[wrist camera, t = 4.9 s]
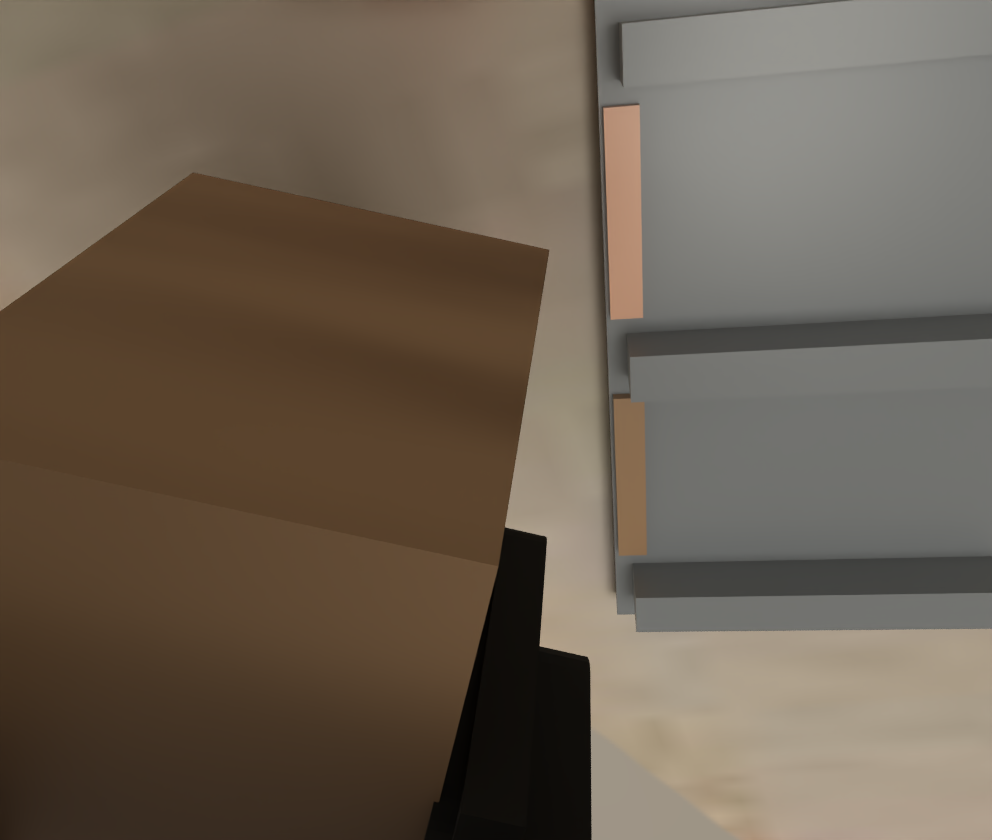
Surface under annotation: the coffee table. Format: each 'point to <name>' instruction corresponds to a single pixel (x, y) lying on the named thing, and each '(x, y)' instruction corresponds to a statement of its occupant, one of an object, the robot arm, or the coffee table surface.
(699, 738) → the coffee table surface
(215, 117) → the coffee table surface
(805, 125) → the slot rack
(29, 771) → the walnut bar
